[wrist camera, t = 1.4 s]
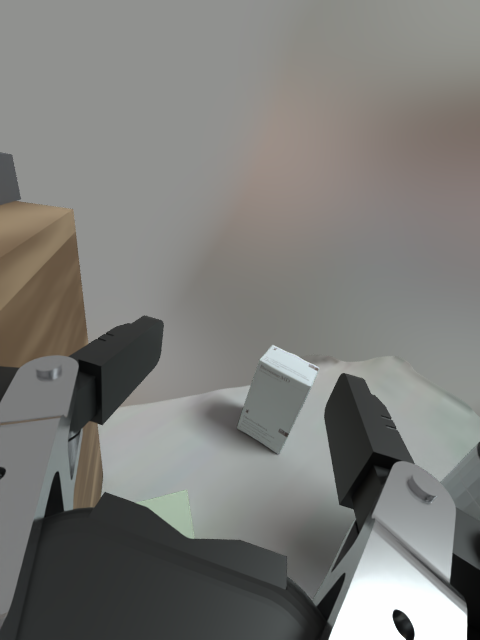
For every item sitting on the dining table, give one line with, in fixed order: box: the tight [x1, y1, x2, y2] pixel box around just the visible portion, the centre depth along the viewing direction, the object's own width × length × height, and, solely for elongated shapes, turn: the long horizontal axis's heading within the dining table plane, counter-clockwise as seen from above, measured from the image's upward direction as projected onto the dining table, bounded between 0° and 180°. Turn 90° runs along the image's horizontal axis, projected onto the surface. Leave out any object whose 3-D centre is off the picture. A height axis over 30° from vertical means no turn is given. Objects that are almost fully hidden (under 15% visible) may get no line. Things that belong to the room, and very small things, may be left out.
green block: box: [137, 490, 195, 539], centre depth 22 cm, size 7×16×4 cm, turn 20°
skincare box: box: [237, 345, 320, 454], centre depth 40 cm, size 8×6×15 cm
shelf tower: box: [0, 201, 103, 509], centre depth 17 cm, size 9×15×32 cm, turn 20°
